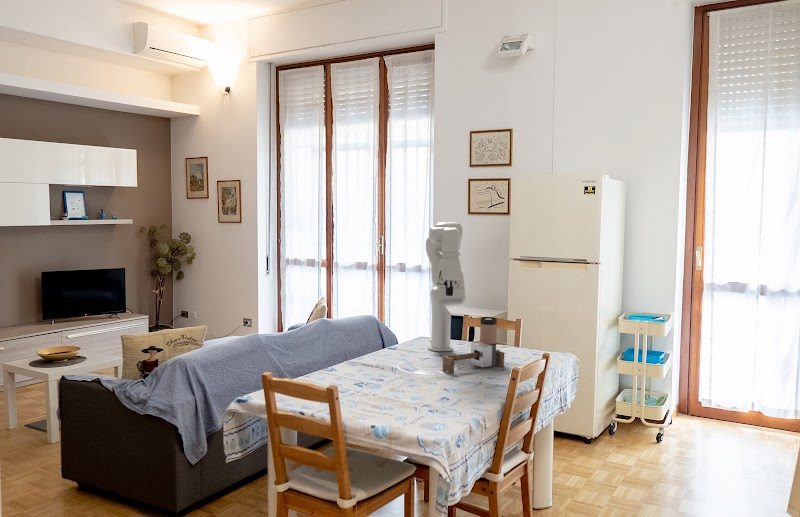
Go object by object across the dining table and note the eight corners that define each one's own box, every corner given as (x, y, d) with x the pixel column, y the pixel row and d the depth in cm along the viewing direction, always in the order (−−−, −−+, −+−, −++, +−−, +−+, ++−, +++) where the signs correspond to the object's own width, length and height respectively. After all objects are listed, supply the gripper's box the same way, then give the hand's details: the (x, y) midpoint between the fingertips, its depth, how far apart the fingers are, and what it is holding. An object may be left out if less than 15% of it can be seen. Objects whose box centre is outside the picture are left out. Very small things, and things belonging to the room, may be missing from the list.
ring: (490, 364, 299) (491, 346, 298) (480, 360, 306) (480, 343, 305) (495, 364, 300) (495, 346, 299) (484, 360, 307) (485, 343, 306)
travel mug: (495, 358, 319) (496, 317, 317) (496, 362, 311) (497, 320, 309) (479, 358, 320) (480, 316, 318) (479, 362, 312) (480, 319, 310)
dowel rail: (450, 373, 290) (450, 357, 289) (442, 370, 295) (442, 354, 294) (503, 366, 304) (504, 350, 303) (495, 363, 309) (496, 348, 308)
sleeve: (482, 367, 296) (482, 347, 295) (470, 362, 304) (471, 343, 303) (491, 366, 298) (492, 346, 298) (479, 361, 306) (480, 342, 305)
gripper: (459, 254, 313) (458, 293, 315) (431, 255, 306) (431, 295, 307) (468, 255, 307) (467, 295, 308) (440, 256, 299) (439, 297, 301)
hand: (449, 295), depth 308 cm, fingers closed
